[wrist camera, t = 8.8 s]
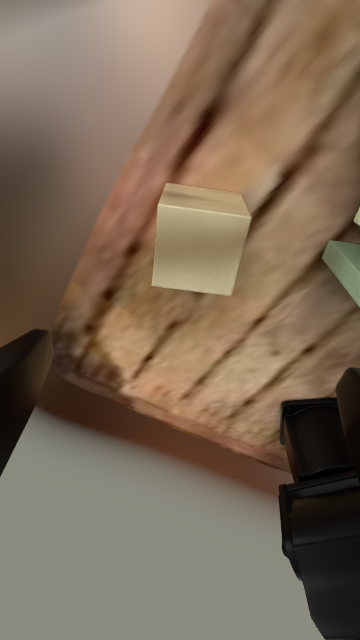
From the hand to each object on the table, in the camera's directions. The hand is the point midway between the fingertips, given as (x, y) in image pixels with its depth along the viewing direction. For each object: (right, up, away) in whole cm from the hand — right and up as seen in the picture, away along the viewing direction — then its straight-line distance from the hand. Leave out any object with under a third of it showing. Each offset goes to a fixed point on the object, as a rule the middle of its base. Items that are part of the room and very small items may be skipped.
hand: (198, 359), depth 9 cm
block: (+1, +7, +10) cm, 12 cm away
